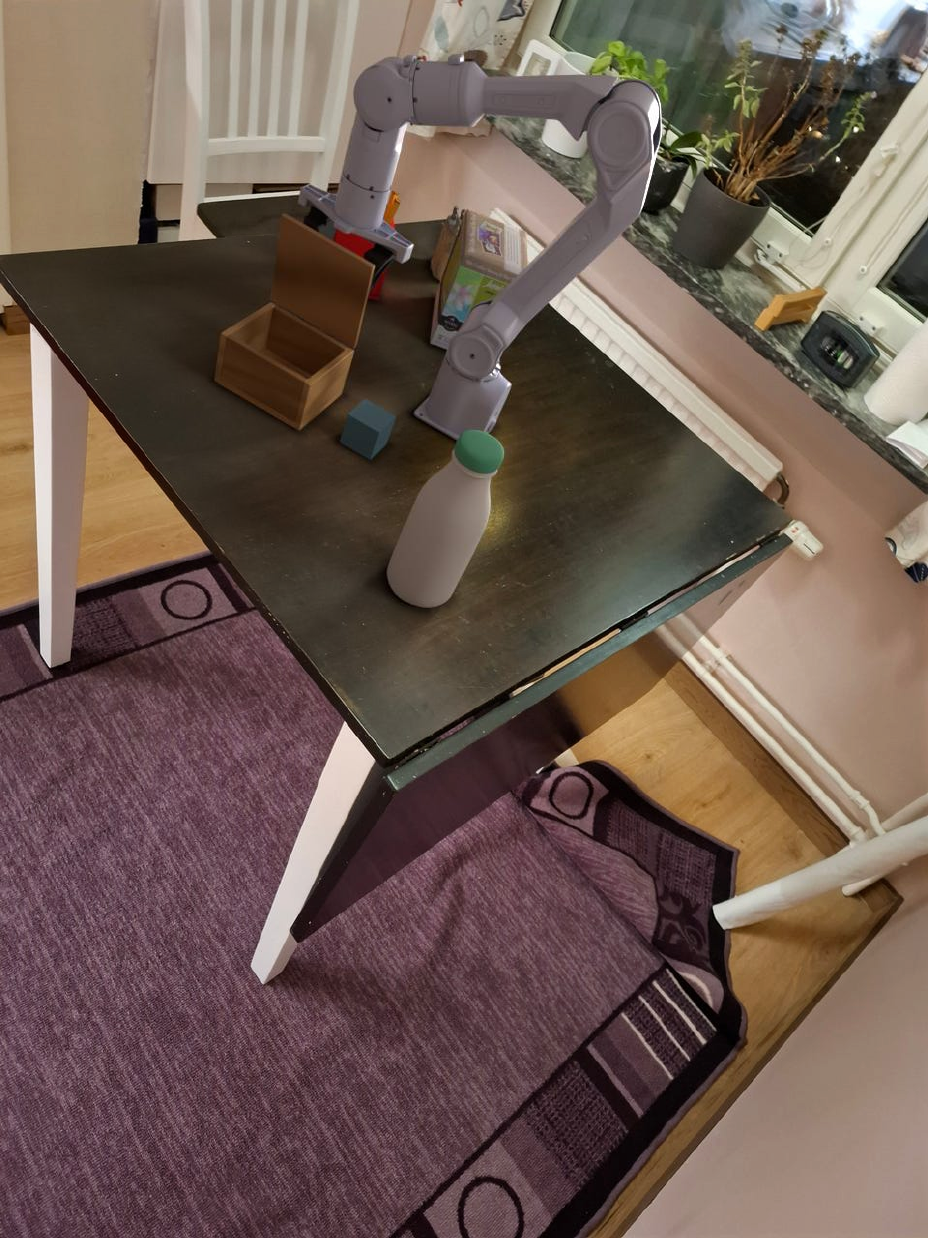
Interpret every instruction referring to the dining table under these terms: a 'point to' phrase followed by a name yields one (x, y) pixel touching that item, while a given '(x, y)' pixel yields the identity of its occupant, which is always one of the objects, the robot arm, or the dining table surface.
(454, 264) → the tea box
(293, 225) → the box lid
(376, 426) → the block
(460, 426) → the robot arm
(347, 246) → the french fries container
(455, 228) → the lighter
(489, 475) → the milk bottle
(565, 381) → the dining table surface
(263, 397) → the box
